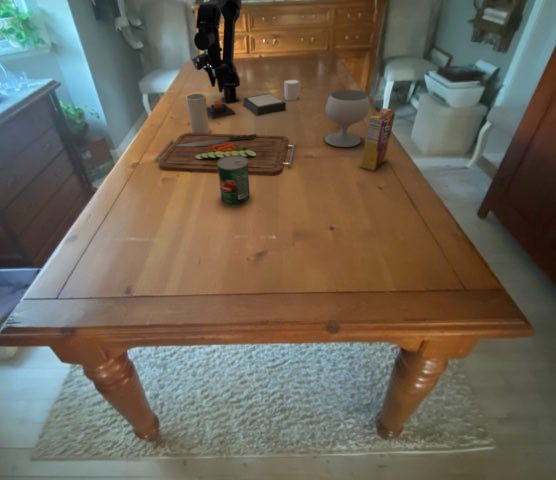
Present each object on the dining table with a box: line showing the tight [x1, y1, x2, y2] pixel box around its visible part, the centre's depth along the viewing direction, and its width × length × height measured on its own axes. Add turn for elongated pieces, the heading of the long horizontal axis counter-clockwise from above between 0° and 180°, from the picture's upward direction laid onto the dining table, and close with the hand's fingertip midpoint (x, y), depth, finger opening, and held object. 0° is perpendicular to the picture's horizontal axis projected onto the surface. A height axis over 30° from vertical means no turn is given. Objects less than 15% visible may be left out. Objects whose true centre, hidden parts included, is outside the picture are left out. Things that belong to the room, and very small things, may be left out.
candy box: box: [361, 107, 396, 171], centre depth 103 cm, size 9×4×15 cm, turn 140°
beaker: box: [185, 93, 211, 134], centre depth 127 cm, size 7×7×13 cm
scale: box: [242, 92, 287, 117], centre depth 148 cm, size 15×13×3 cm
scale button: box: [213, 100, 224, 108], centre depth 146 cm, size 4×4×2 cm
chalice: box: [324, 89, 370, 148], centre depth 116 cm, size 14×14×15 cm
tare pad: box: [207, 103, 236, 119], centre depth 147 cm, size 12×10×2 cm
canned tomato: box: [217, 155, 251, 208], centre depth 92 cm, size 8×8×11 cm
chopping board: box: [154, 132, 296, 176], centre depth 116 cm, size 45×27×3 cm, turn 80°
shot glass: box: [283, 79, 300, 101], centre depth 155 cm, size 7×7×7 cm
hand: (216, 89), depth 142 cm, fingers open, 8 cm apart
